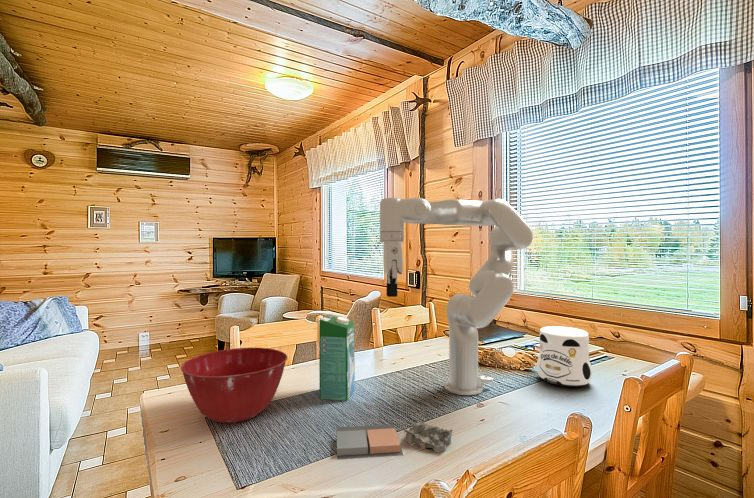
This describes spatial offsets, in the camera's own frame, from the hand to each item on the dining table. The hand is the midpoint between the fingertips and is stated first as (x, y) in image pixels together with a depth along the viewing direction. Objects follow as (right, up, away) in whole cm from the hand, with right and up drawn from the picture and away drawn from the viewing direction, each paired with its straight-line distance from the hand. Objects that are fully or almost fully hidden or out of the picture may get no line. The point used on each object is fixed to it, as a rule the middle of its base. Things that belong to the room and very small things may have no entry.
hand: (391, 296), depth 120 cm
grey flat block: (-11, -31, -25) cm, 41 cm away
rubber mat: (-7, -32, -27) cm, 43 cm away
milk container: (+61, -32, +14) cm, 70 cm away
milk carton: (-17, -32, +3) cm, 37 cm away
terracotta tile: (-4, -31, -25) cm, 40 cm away
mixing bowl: (-45, -33, -10) cm, 56 cm away
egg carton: (+8, -33, -27) cm, 43 cm away
